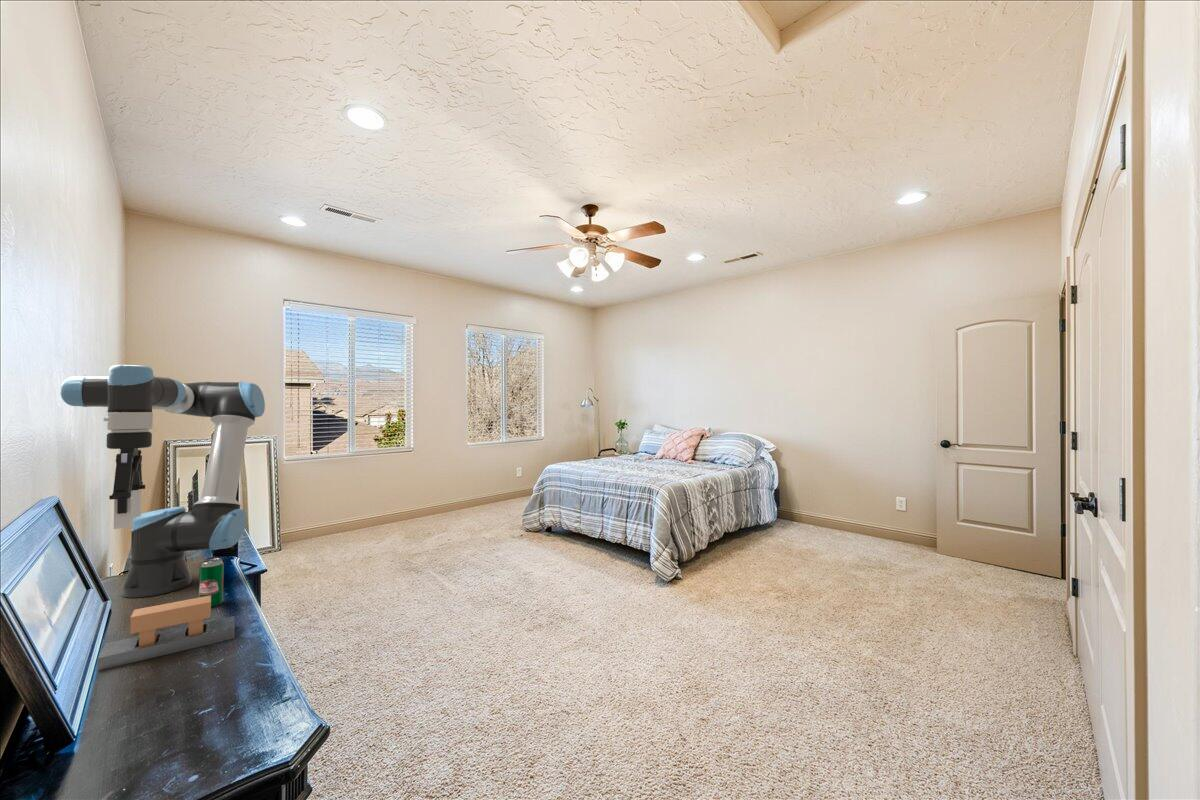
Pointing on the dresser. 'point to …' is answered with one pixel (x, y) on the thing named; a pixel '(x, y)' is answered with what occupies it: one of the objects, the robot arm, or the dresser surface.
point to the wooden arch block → (170, 618)
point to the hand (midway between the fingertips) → (127, 522)
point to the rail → (165, 643)
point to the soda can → (211, 580)
